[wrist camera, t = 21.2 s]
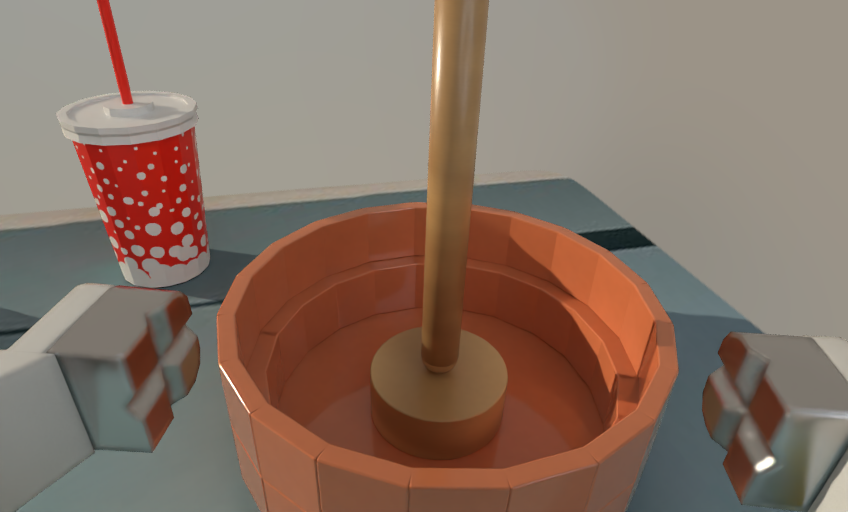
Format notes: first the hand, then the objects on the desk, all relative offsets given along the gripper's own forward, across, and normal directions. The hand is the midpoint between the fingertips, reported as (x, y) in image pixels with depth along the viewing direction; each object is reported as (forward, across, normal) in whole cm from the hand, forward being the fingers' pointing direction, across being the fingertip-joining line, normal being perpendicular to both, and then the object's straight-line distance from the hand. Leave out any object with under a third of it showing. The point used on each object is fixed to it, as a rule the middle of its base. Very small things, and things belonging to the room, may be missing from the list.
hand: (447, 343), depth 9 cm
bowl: (+9, 0, +12) cm, 15 cm away
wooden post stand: (+9, 0, +11) cm, 14 cm away
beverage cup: (+19, +16, +12) cm, 28 cm away
